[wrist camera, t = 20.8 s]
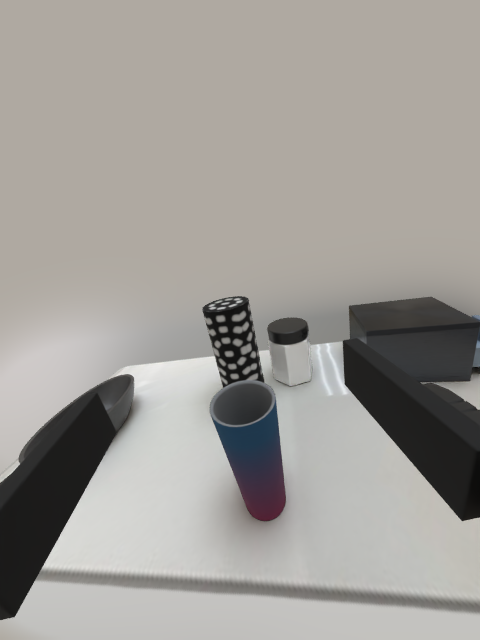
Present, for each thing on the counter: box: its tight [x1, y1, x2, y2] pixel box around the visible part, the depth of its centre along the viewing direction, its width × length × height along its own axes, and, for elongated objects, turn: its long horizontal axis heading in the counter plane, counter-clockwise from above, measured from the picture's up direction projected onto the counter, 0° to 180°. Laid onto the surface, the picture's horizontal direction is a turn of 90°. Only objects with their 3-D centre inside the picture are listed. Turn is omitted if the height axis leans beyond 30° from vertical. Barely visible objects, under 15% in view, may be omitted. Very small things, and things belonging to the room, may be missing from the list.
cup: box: [210, 380, 286, 521], centre depth 26 cm, size 7×7×15 cm
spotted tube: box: [203, 296, 264, 388], centre depth 44 cm, size 8×8×20 cm
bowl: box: [19, 374, 134, 464], centre depth 44 cm, size 12×22×6 cm, turn 167°
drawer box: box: [349, 297, 480, 382], centre depth 45 cm, size 16×14×11 cm
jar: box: [267, 318, 312, 386], centre depth 48 cm, size 9×8×12 cm
